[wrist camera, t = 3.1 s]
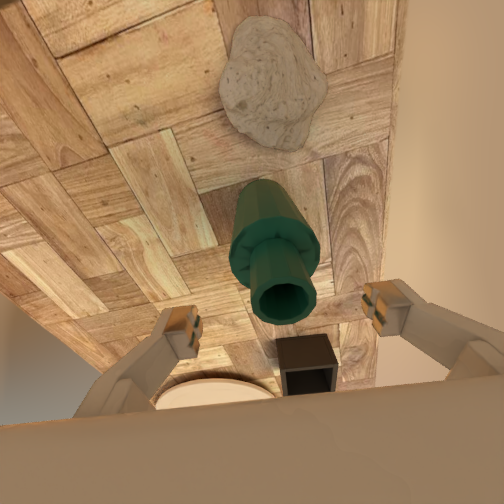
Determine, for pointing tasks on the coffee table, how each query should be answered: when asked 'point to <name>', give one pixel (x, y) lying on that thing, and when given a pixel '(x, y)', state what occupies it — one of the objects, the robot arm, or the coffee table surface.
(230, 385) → the plate
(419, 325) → the robot arm
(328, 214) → the coffee table surface
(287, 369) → the holder
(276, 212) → the bottle
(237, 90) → the stone
